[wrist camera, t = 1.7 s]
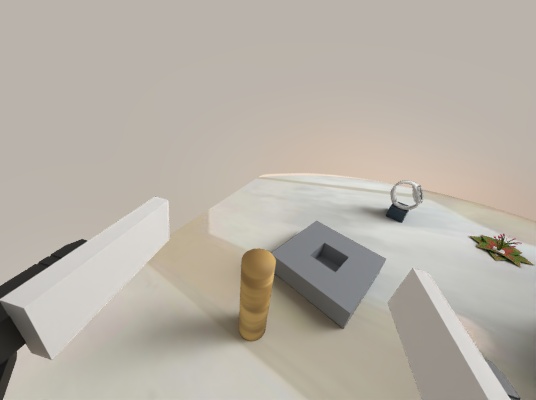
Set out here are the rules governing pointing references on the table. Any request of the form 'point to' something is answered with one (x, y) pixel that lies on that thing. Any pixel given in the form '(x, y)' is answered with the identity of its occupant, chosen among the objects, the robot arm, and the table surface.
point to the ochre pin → (255, 292)
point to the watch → (401, 210)
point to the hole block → (328, 270)
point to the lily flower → (509, 250)
